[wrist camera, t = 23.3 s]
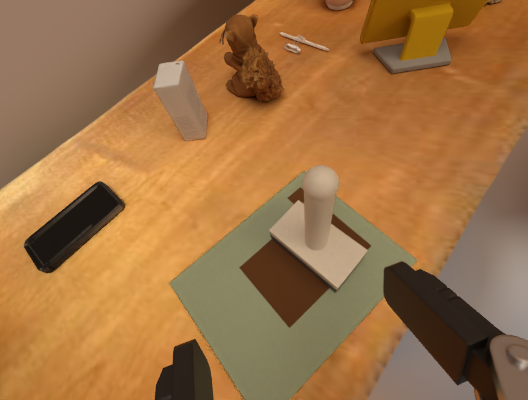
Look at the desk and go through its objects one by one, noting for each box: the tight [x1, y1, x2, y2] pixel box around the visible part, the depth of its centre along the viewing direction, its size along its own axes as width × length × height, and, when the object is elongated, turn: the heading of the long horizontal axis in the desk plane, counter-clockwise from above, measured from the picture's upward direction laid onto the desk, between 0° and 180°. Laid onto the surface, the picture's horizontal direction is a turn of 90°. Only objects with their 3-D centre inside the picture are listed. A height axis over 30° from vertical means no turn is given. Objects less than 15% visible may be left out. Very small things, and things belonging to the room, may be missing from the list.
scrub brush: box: [269, 165, 368, 293], centre depth 29 cm, size 11×6×18 cm, turn 46°
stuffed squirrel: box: [219, 14, 283, 102], centre depth 49 cm, size 10×14×13 cm
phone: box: [24, 182, 125, 273], centre depth 43 cm, size 8×1×15 cm
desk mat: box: [170, 171, 417, 400], centre depth 35 cm, size 20×26×1 cm
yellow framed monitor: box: [360, 0, 488, 73], centre depth 46 cm, size 20×8×16 cm, turn 94°
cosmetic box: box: [154, 60, 208, 141], centre depth 46 cm, size 6×4×12 cm
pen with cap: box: [279, 32, 329, 54], centre depth 59 cm, size 14×4×2 cm, turn 49°
